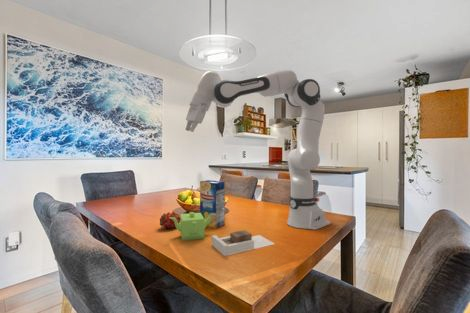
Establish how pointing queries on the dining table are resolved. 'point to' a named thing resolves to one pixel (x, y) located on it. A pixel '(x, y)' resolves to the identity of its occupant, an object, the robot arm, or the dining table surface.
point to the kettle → (191, 226)
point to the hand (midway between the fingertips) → (188, 130)
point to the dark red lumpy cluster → (168, 220)
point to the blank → (239, 237)
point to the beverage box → (213, 202)
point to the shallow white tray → (239, 244)
